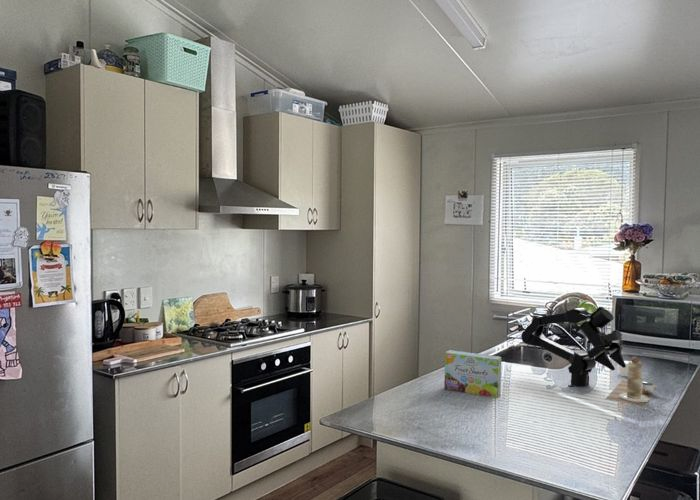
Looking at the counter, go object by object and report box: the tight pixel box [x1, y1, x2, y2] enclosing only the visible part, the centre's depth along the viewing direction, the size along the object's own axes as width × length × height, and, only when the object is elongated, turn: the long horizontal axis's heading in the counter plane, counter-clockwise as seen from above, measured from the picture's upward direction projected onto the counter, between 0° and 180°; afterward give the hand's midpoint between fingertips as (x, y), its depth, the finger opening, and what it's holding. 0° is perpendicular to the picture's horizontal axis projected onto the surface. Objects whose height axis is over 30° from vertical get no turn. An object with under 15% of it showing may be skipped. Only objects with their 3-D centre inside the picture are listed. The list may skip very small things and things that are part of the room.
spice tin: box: [641, 380, 655, 396], centre depth 225 cm, size 4×4×4 cm
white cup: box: [616, 359, 630, 378], centre depth 253 cm, size 7×7×7 cm
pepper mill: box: [626, 356, 643, 399], centre depth 217 cm, size 5×5×15 cm
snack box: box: [443, 349, 502, 399], centre depth 225 cm, size 21×6×15 cm, turn 62°
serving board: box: [605, 380, 657, 407], centre depth 226 cm, size 34×13×1 cm, turn 145°
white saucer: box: [619, 393, 650, 403], centre depth 218 cm, size 10×10×1 cm
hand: (619, 368), depth 222 cm, fingers open, 9 cm apart
